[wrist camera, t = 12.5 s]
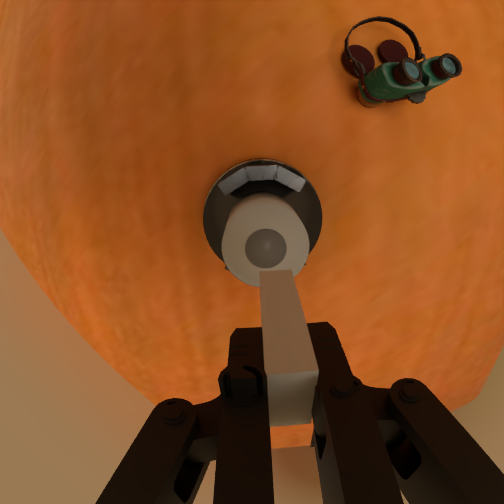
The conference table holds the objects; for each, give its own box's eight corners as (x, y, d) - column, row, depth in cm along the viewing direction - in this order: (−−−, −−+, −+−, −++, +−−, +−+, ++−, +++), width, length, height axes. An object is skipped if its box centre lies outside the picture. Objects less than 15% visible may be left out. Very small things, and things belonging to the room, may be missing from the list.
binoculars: (429, -10, 13) (479, 88, 16) (388, 29, 23) (423, 105, 26) (345, -9, 14) (403, 102, 17) (321, 40, 24) (358, 121, 27)
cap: (224, 192, 26) (217, 208, 20) (296, 189, 26) (309, 203, 20) (230, 259, 28) (225, 290, 22) (297, 255, 28) (308, 285, 22)
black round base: (203, 161, 29) (193, 165, 23) (313, 155, 28) (327, 159, 23) (213, 262, 33) (206, 286, 28) (313, 257, 33) (324, 279, 27)
